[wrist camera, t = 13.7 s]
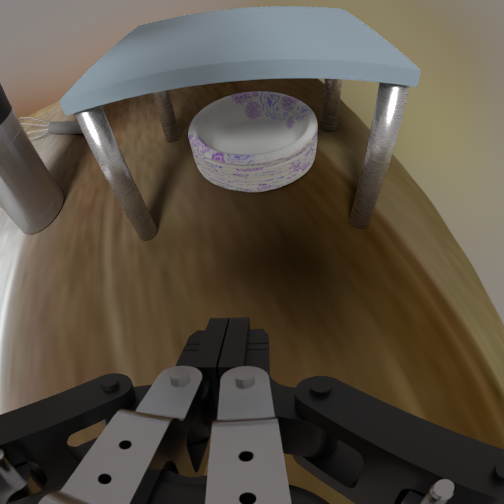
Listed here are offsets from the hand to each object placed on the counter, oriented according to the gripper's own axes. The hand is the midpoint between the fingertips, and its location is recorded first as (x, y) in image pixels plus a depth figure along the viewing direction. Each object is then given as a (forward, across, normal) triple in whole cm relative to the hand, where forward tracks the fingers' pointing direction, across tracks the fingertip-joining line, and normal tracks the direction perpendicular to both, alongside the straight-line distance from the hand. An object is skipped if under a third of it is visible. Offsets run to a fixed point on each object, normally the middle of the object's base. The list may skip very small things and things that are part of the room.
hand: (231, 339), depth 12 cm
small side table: (+30, 0, -8) cm, 31 cm away
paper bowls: (+30, -1, -8) cm, 31 cm away
